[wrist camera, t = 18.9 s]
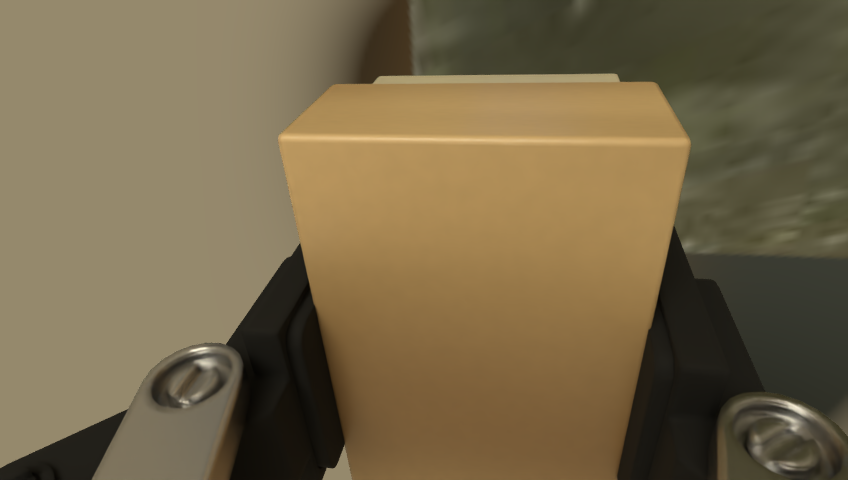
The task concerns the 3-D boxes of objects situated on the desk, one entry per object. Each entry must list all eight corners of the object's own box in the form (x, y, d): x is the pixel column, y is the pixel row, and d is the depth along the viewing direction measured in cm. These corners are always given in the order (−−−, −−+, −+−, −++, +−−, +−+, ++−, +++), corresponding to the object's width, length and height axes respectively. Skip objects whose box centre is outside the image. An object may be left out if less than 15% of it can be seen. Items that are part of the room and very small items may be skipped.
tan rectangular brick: (358, 56, 9) (273, 135, 6) (641, 52, 8) (695, 139, 5) (399, 393, 13) (361, 530, 10) (587, 412, 12) (600, 566, 10)
